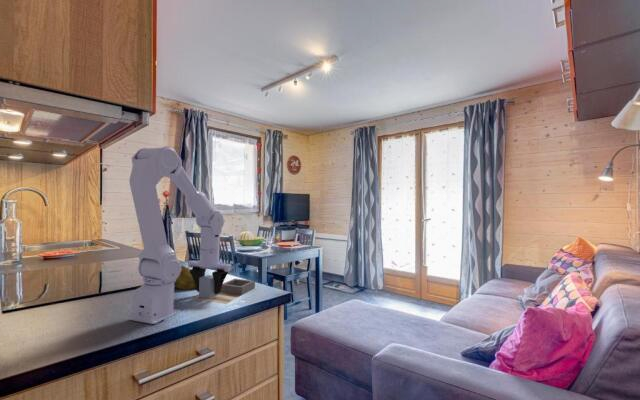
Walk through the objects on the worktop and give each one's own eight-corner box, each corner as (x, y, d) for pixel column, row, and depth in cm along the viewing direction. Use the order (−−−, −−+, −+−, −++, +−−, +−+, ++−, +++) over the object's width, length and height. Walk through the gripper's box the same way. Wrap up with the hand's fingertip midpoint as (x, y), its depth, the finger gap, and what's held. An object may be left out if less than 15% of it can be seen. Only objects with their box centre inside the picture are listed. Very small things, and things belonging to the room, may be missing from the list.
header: (241, 295, 101) (242, 287, 101) (220, 292, 104) (220, 284, 104) (255, 288, 110) (255, 280, 110) (234, 285, 112) (234, 278, 112)
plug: (209, 298, 97) (210, 279, 97) (198, 297, 98) (199, 277, 98) (218, 294, 101) (219, 275, 101) (208, 293, 102) (208, 274, 102)
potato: (196, 294, 103) (196, 269, 103) (159, 291, 105) (160, 267, 105) (208, 287, 111) (209, 264, 111) (175, 284, 113) (175, 262, 113)
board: (226, 305, 93) (226, 303, 93) (191, 300, 97) (191, 298, 97) (255, 289, 110) (255, 287, 110) (225, 285, 114) (225, 283, 114)
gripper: (237, 248, 101) (235, 291, 101) (198, 245, 105) (197, 286, 105) (224, 252, 94) (223, 297, 94) (183, 248, 99) (182, 292, 99)
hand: (208, 292), depth 100 cm, fingers open, 6 cm apart
